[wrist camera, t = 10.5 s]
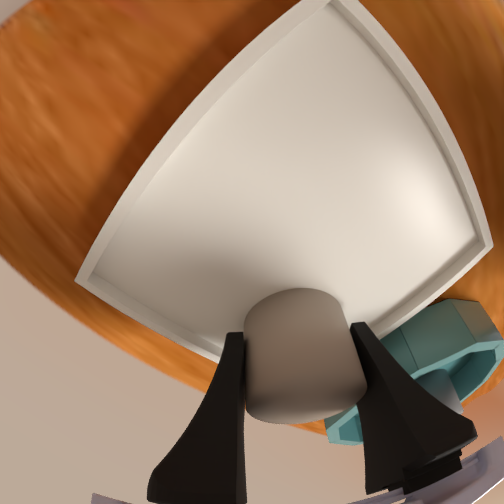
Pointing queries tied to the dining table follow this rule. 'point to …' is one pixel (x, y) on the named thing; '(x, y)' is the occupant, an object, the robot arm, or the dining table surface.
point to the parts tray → (295, 189)
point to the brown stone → (300, 358)
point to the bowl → (435, 355)
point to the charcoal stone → (441, 388)
